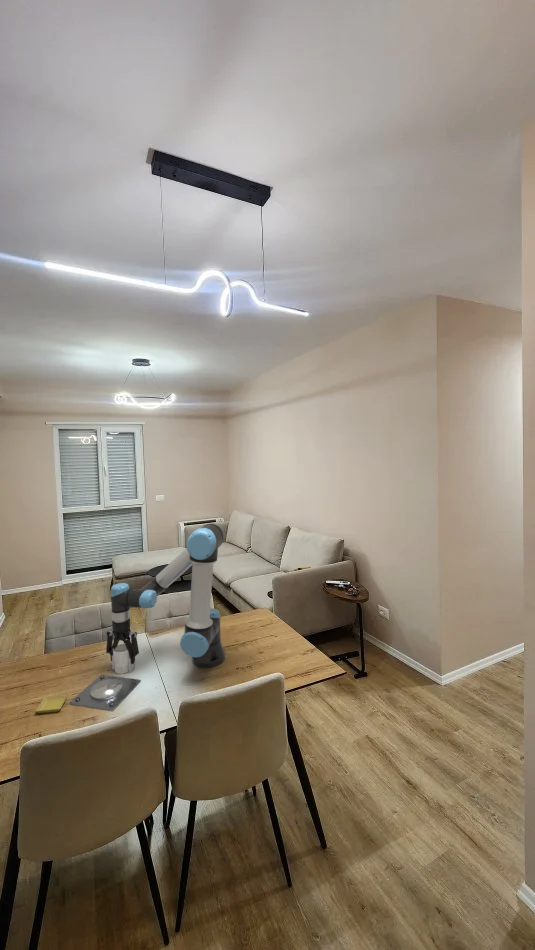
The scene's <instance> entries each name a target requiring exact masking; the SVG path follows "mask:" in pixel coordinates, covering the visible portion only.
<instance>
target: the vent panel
mask: <svg viewBox="0 0 535 950" xmlns="http://www.w3.org/2000/svg"><path fill="white" fill-rule="evenodd" d="M141 681H142V680H141V679H140V678H139V679H138V678H130V677H123V676H116V675H107V674H106V675H105V674H100V675H99V676H98V677H96V678H95V679H94V680H93V681H92V682H91V683H90V684H89V685H87V686H86V687H85V688H84V689H83V690H82V691H80V693H78V694H77V695H76V696H75V697H74V698H72V699H71V700H70V701H69V705H72V706H78V707H79V706H80V707H85V708H91V709H96V710H97V709H99V710H105V711H109V712H110V711H111V712H113V711H115V710H116V709H117V708H118V707H119V706H120V704H121V703H122V702H123V701H124V700H125V699H126V697H128V696H129V695H130V694H131V693H132V692H133V690H134V689H135V688H136V687H137V686H138V685H139V684H140V683H141Z"/></svg>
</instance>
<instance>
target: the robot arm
mask: <svg viewBox="0 0 535 950" xmlns="http://www.w3.org/2000/svg"><path fill="white" fill-rule="evenodd" d="M224 538H225V534H224V531H223V529H222V528H221V526H219V524H216V523H206V524H203V526H201V527H199V528H196V530H194V531H193V532H192V533H191V534H190V535H189V537H188V539H187V540H186V548H185V549H184V550H182V552H181V553H179V554H178V555H177V556H176V557H175V558H174V559H173V560H171V562H170V563H168V565H166V566H165V567H164V568H163V569H161V571H160V572H158V574H157V575H155V576H154V577H153V578H152V579H151V580H150V581H149V582H148V583H146V584H144V586H142V587H141V588H140V589H132V588H131V589H130V585H129V584H128V583H125V582H119V583H116V584H114V585H112V586H111V588H110V601H111V603H110V604H111V620H112V622H111V624H112V625H111V628H112V629H109V630H108V631H106V639H107V640H106V647H105V648H106V649H105V653H106V654H109V655H110V661H111V663H112V665H111V666H112V667H111V669H112V670H113V671H115V666H114V658H113V649H116V648H117V645H119V642H120V641H121V642H123V644H125V645H126V648H127V650H128V653H129V655H130V657H128V661H129V671H128V672H129V673H131V672H132V671H134V669H135V666H134V665H135V663H136V657H137V656H138V655H139V654H140V650H139V644H138V639H137V636H138V632H136V631H135V632H133V631H132V630H131V608H137V609H139V608H141V609H152V608H154V607H155V606H156V604H157V600H158V596H160V595H161V594H162V593H163V592H164V591H165V590H167V588H169V586H170V585H172V584H173V583H174V582H175V581H177V579H179V578H180V577H181V576H182V575H183V574H184V573H185V572H186V571H188V569H190V567H192V570H191V583H190V585H191V586H190V598H189V600H190V601H189V615H188V617H187V618H186V619H185V621H184V633H183V635H182V636H181V638H180V641H179V645H180V649H181V650H182V652H184V653H185V655H187V656H188V657H190V658H191V662H192V664H193V665H194V666H196V667H198V668H205V669H206V668H213V667H217V666H218V665H221V664H223V662H224V661H225V659H226V655H225V654H226V651H225V649H224V647H223V644H222V642H221V641H222V640H221V612H220V611H219V610H218V609H216V608H211V601H212V600H211V599H212V589H213V586H212V585H213V573H214V564H215V563H216V562H218V557H219V556H218V555H219V554H218V553H219V548H220V547H221V546H222V544H223V542H224Z"/></svg>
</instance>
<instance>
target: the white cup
mask: <svg viewBox="0 0 535 950" xmlns="http://www.w3.org/2000/svg"><path fill="white" fill-rule="evenodd" d="M128 657H130V655H129V653H128V650H127V648H126V645H125V643H120V644H118V645H117V648H116V649H113V658H114V666H115V670H114V672H115V673H116V674H118V675H123V674H126V673H128V672H129V661H128Z"/></svg>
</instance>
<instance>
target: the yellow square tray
mask: <svg viewBox="0 0 535 950" xmlns="http://www.w3.org/2000/svg"><path fill="white" fill-rule="evenodd" d="M67 698H68V694H61V695H51V696H45V697H43V699H42V700H41V702H40V703H39V705H38V707H36V710H35V712H37V713H39V714H47V713H56V712H60V711H61V708H62V707H63V705H64V703H65V702H66V700H67Z"/></svg>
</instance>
